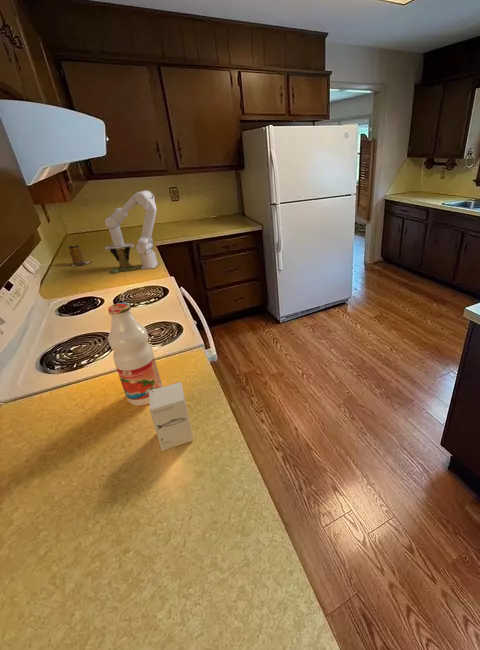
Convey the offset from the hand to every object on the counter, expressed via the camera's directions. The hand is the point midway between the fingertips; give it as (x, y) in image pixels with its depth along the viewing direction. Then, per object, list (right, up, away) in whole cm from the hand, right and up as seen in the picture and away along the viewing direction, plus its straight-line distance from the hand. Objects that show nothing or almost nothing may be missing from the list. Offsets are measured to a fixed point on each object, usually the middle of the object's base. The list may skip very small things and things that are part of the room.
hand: (123, 260), depth 197 cm
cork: (0, -4, +2) cm, 5 cm away
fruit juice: (+63, -52, -104) cm, 132 cm away
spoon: (+2, -7, -4) cm, 9 cm away
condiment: (-33, -1, +12) cm, 35 cm away
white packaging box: (+76, -58, -118) cm, 152 cm away
